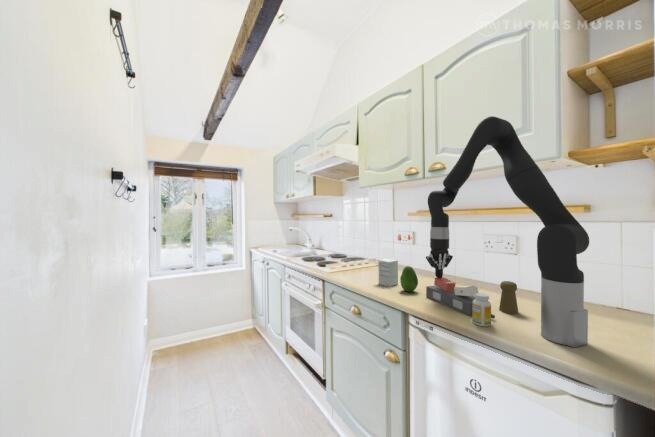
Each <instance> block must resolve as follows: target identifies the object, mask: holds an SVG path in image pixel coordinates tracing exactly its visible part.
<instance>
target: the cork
mask: <svg viewBox="0 0 655 437" xmlns="http://www.w3.org/2000/svg"><path fill="white" fill-rule="evenodd" d="M499 287H500V289H501V295H500V300H499V307H498V310H499V312H501V313H503V314H507V315H517V314H519V307H518V300H517V293H516V292H517V290H518V286H517V283H515V282H514V281H509V280H504V281H501V282H500V286H499Z"/></svg>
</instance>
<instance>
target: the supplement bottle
mask: <svg viewBox="0 0 655 437" xmlns="http://www.w3.org/2000/svg"><path fill="white" fill-rule="evenodd" d="M489 300H490V295H489V294H487V293H483V292H478V293H475V300H473V303H472V315H471V316H472V317H471V318H472V323H473V324H475V325H477V326H480V327H490V326H491V325H492V318H491V314H492V304H491V301H489Z"/></svg>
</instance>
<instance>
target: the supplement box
mask: <svg viewBox="0 0 655 437" xmlns="http://www.w3.org/2000/svg"><path fill="white" fill-rule="evenodd" d="M398 262H399V260H397V259H392V258H391V259H390V258H383V259H379V260H378V262H377V263H378V266H377V267H378V285H381V286H384V287H385V286H386V287H393V286H396V285H398V284H399V263H398Z"/></svg>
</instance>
